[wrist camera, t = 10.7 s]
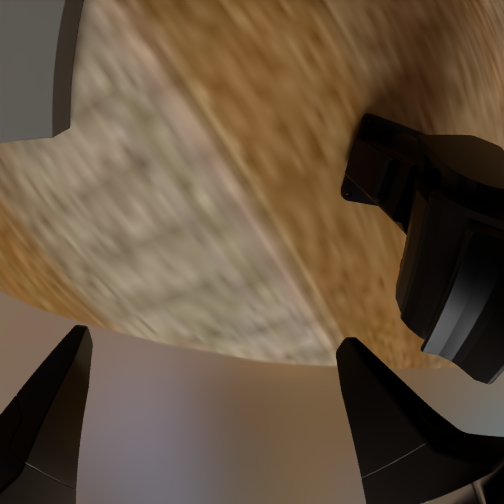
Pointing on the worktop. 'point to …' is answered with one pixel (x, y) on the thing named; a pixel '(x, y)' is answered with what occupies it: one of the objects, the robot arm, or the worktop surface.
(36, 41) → the slate stand
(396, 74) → the worktop surface
